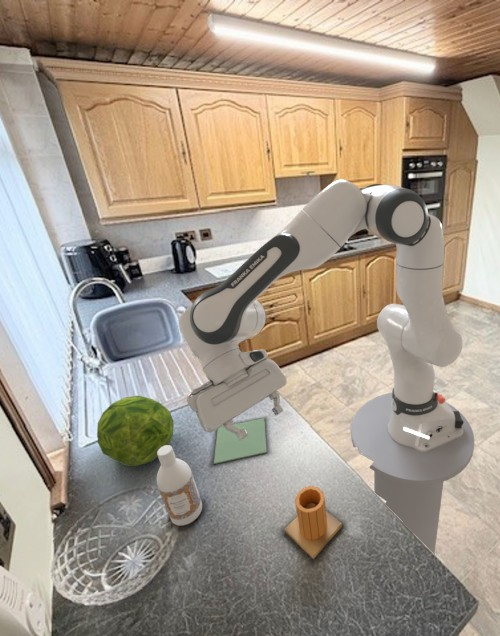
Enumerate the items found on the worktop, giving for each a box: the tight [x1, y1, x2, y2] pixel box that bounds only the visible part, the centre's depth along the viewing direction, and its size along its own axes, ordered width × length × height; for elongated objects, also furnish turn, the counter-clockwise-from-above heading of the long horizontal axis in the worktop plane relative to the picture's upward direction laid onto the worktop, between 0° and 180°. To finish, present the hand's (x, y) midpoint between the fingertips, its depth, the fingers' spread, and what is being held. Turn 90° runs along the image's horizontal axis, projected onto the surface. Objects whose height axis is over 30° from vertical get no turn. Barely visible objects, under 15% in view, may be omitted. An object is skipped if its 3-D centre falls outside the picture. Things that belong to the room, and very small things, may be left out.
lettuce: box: [96, 395, 174, 467], centre depth 96 cm, size 17×23×17 cm
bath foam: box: [156, 444, 203, 527], centre depth 77 cm, size 7×7×20 cm
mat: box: [213, 418, 268, 465], centre depth 101 cm, size 14×14×1 cm
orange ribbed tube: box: [294, 485, 327, 540], centre depth 74 cm, size 6×6×9 cm
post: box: [283, 503, 343, 560], centre depth 75 cm, size 9×9×7 cm
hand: (262, 425), depth 74 cm, fingers open, 8 cm apart
